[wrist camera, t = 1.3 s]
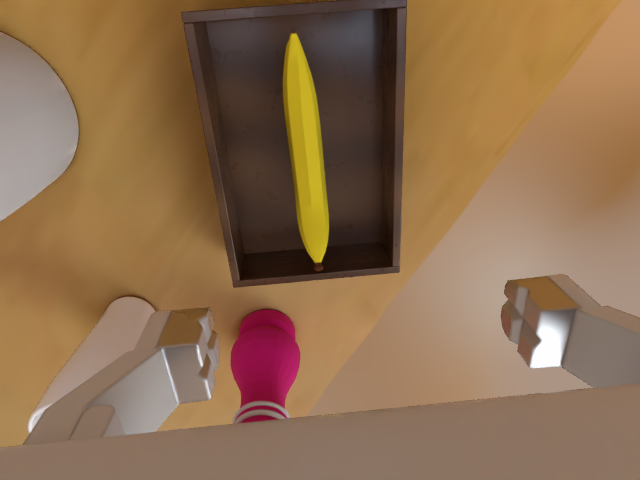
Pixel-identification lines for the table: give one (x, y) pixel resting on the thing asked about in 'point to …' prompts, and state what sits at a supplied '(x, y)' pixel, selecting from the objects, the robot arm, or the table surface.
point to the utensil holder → (31, 125)
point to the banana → (305, 151)
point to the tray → (272, 142)
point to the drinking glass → (98, 349)
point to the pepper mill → (264, 365)
